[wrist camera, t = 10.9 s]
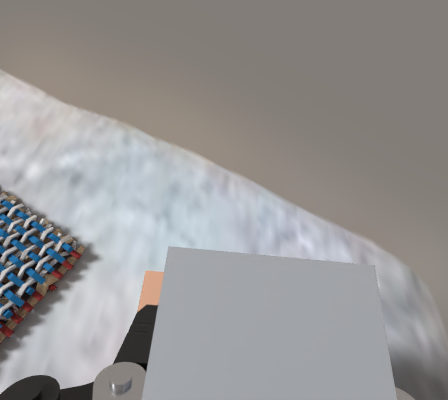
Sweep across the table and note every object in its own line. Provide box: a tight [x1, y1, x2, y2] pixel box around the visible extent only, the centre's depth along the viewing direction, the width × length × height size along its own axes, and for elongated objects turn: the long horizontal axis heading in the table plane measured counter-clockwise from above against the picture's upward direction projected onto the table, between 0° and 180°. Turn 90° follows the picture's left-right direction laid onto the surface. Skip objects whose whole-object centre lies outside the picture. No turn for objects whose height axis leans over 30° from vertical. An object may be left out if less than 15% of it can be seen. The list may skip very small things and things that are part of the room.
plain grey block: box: [142, 246, 397, 400], centre depth 11 cm, size 5×5×10 cm
